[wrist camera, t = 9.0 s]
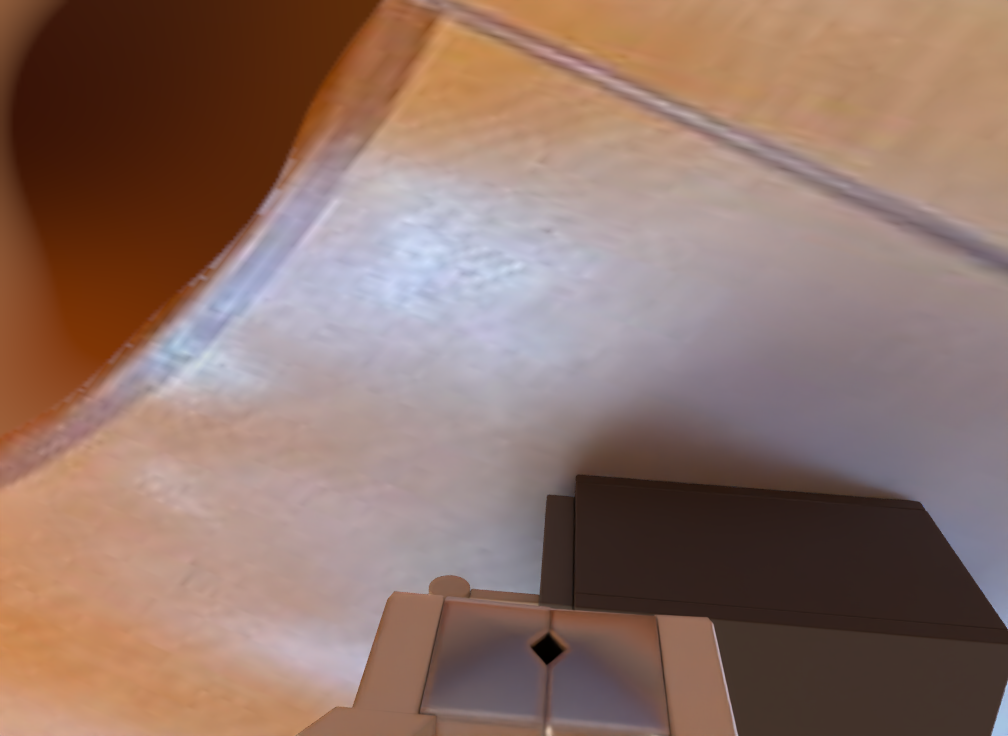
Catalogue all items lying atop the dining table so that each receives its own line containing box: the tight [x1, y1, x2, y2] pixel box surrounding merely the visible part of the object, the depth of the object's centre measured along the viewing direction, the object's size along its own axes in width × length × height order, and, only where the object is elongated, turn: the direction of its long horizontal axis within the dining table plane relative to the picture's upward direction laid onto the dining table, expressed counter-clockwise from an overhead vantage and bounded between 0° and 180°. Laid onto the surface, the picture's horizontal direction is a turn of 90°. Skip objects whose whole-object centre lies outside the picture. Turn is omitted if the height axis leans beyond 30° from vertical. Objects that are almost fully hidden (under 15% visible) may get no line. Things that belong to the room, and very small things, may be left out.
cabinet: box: [573, 475, 1008, 736], centre depth 38 cm, size 15×12×10 cm
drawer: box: [429, 495, 575, 610], centre depth 38 cm, size 18×10×8 cm, turn 88°
